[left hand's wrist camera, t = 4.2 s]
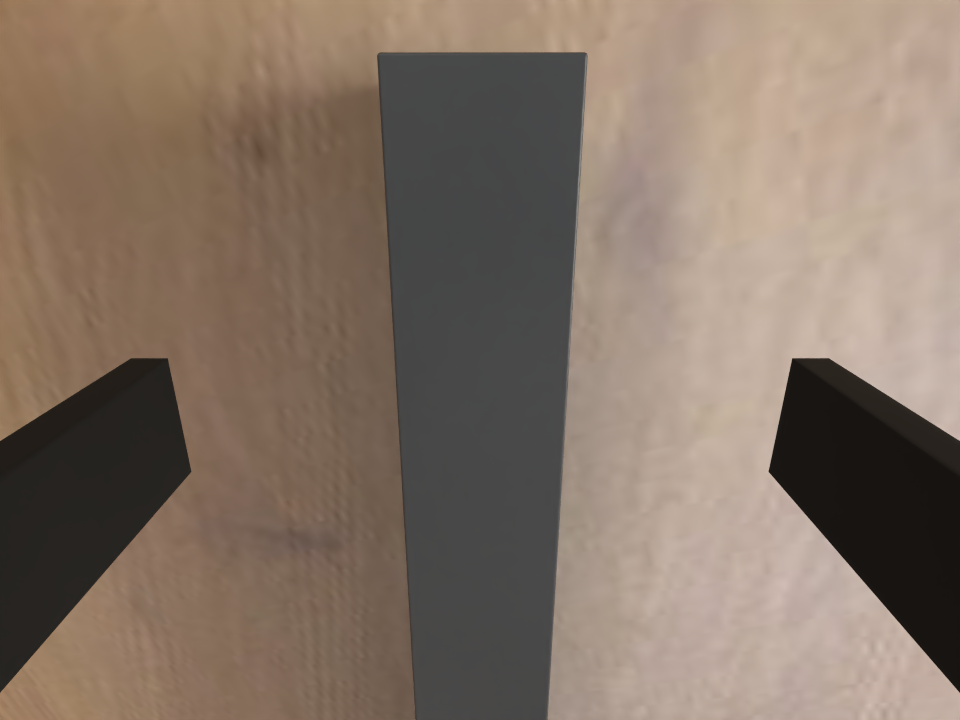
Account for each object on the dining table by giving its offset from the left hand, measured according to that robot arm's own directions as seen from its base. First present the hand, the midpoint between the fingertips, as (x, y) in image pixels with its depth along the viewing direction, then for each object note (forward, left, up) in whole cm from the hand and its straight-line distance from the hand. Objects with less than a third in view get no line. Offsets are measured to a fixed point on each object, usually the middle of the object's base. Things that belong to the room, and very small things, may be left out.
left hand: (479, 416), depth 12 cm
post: (+25, +5, -13) cm, 29 cm away
